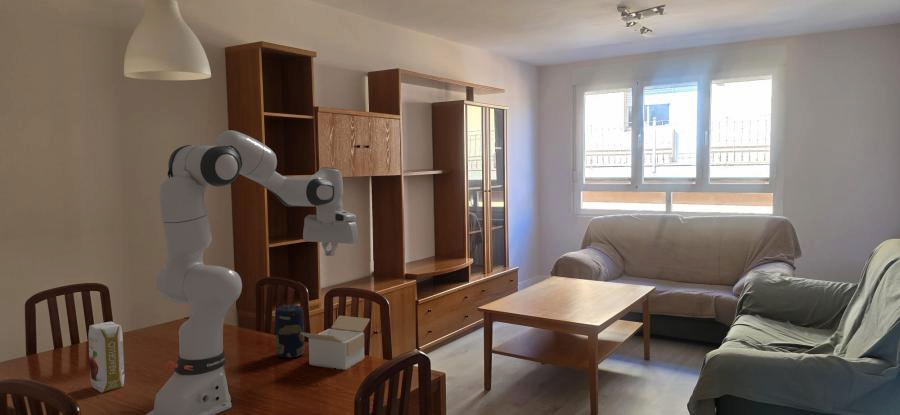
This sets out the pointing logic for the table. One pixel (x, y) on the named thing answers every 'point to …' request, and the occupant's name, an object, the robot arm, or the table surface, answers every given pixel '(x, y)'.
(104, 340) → the juice carton
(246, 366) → the table surface
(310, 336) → the flap near
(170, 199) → the robot arm
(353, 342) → the carton
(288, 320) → the canister
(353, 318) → the flap far
